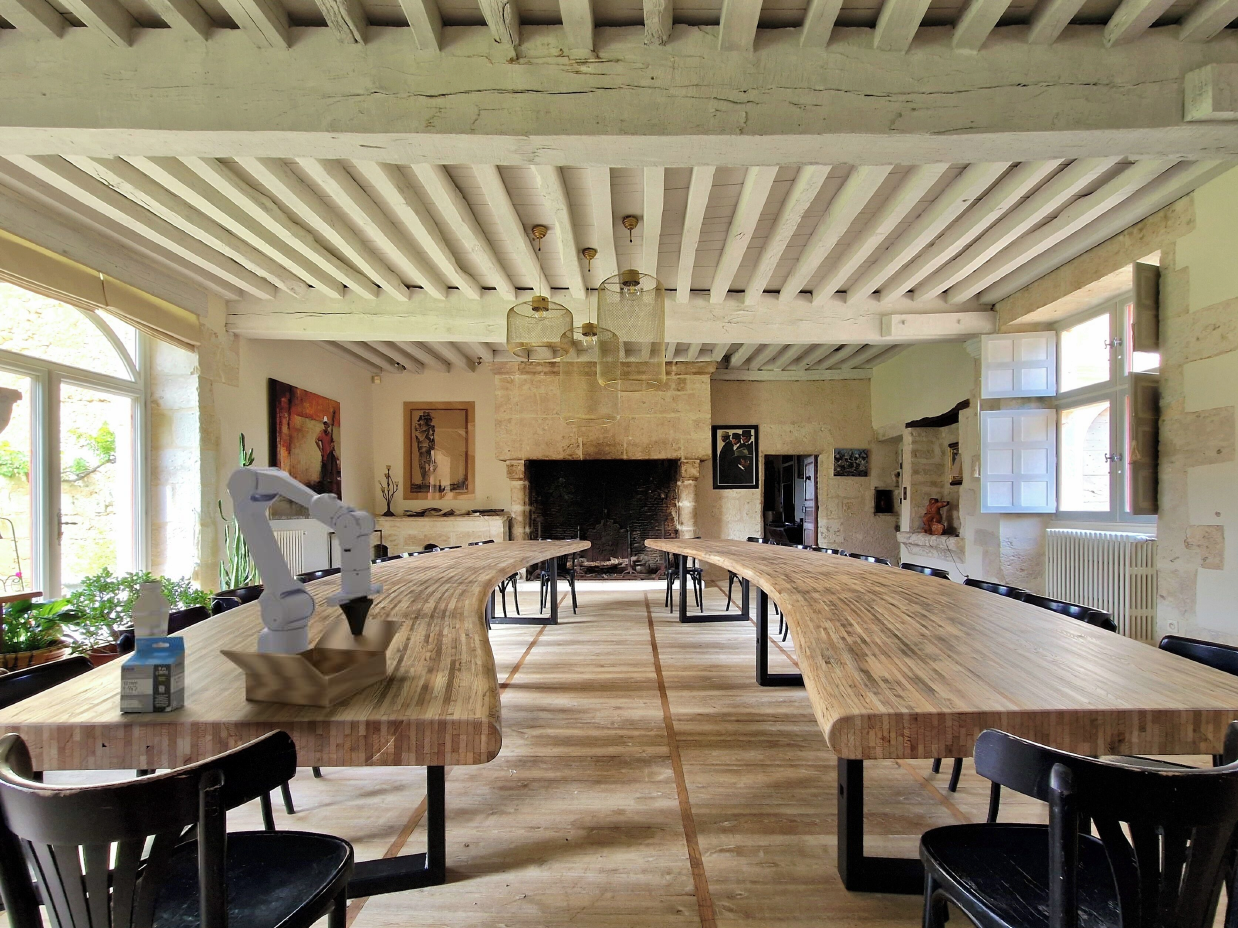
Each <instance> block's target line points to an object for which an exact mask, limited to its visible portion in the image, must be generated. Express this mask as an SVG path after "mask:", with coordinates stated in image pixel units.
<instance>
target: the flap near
mask: <svg viewBox="0 0 1238 928" xmlns="http://www.w3.org/2000/svg"><path fill="white" fill-rule="evenodd" d="M219 653H220V654H222V656H224V657H225V658H226V659H228V661H230V662H231V663H233V664H234V665H236V667H238V668H239V669H241V670H242V671H243V672H246V673H250V674H262V675H274V676H287V677H299V678H312V679H325V676H323V675H322V674H321V673H320V672H319V671H318V670H317V669H316V668H315V667H313V666H312V665H311V664H310V663H309V662H308V661H307V660H306V659H305V658H303V657H302V656H301V655H289V654H275V653H260V652H258V651H243V650H229V649H228V650H227V649H220V651H219Z"/></svg>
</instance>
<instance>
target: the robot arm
mask: <svg viewBox="0 0 1238 928" xmlns="http://www.w3.org/2000/svg"><path fill="white" fill-rule="evenodd" d="M226 487H227V490H228V493H229V495H230V497H231V500H232V509H233V515H234V518H235V520H236V524H237V526H238V528H239V530H240V532H241V535H242V538H243V539H244V540H243V541H244V542H245V544H246V548H247V549H248V551H249V554H250V556H251V559H252V561H253V564H254V566H255V568H256V571H257V573H258V576H259V578H260V580H261V582H262V585H263V588H264V590H263V591H262V592H261V594H260V596H259V597H258V600H257V601H258V605H259V607H260V620H261V622H262V624H263V625H264V626H265V628H264V629H262V631H261V632H260V633H259V635H258V638H257V652H260V653H275V654H289V655H295V654H297V653H300V652H303V651H306V650H308V649H310V647H309V642H310V641H309V640H310V639H309V623H311V617H313V615H314V614H315V611H316V609H317V603H316V602H317V601H316V599H315V597H314V595H313V594H311V593H310V592H309V591H308V589H307V588H306V586H305V584H304V583H303V582H301V581H299V580H297V579H295V578H294V577H293V576H292V575H293V574H292V573H291V570H290V569H289V567H288V564H287V561H286V559H285V556H284V554H283V552H282V550H281V548H280V545H279V543H278V540H277V538H276V536H275V533H274V530H273V528H272V526H271V524H270V521H269V519H268V517H267V515H266V512H267V510H268V508H270V507H271V506H272V505H273V503H274V502H275V501H276V499H277V498H278V497H279V496H280V495H282V496H283V497H285V498H287V499H289V500H291V501H294V502H296V503H298V504H299V505H300V506H301V505H302V506H303V507H305V508H306V509H308V514H309V516H310V517H311V518H312V519H314V520H315V521H318V522H320V523H322V524H323V525H325V526H326V527H328V528H329V529H332V530H333V532H334V535H335V537H336V538H337V539H338V547H340V587H341V589H340V591H338V592H336V593H334V594H332V595H329V596H326V607H328V608H336V607H338V606H339V608H340V610H341V611H342V612H343V614H344V617H345V618H347V621H348V624H349V627H350V630H351V634H352V635H362V633H363V629H364V624H365V621H366V619H367V617H368V615H369V612H370V609H372V606H373V604H374V598H372V597H371V596H374V595H381V594H383V593H384V585H383V584H382V583H381V584H379V583H373V584H372V577H371V575H372V573H371V572H372V569H371V568H372V566H371V562H372V561H371V559H372V557H371V536H372V535H373V533H374V532H375V530H376V524H377V523H376V520H375V517H374V516H373V514H371V513H370V512H369V511H368V510H366V509H364V510H363V509H361V510H357V509H355V508H356V507H355V505H353V504H346V503H345V502H343V501H342V500H340V499H338V495H336V494H334V493H322V494H318V493H316V491H315V492H314V490H312V489H311V488H309V487H307V486H306V485H304V484H303V483H301V482H300V481H298V480H297V479H295V478H294V477H292V476H291V475H290V474H289V472H287V471H284V470H282V469H281V468H279V467H276V466H269V467H251V466H250V467H248V466H238V467H236V468H235V469H234V470H233V471H232V472H231V474H230V476H229V478H228V481H227V483H226ZM370 597H371V598H370Z"/></svg>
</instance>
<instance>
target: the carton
mask: <svg viewBox="0 0 1238 928" xmlns="http://www.w3.org/2000/svg"><path fill="white" fill-rule="evenodd" d="M295 655H301V656H302V657H303V658H305V659H306V660H307V661H308V662H309V663H310V664H311V665H312V666H313V667H315V668H316V669H317V670H318V671H319V672H320V673H321V674H322V675H323V676H325V679H312V678H299V677H287V676H274V675H262V674H250V673H246V672H245V678H244V679H245V680H244V682H245V701H250V702H251V701H253V702H260V703H261V702H263V703H270V704H271V703H274V704H282V705H292V706H305V707H313V708H315V707H316V708H323V709H324V708H326V709H328V708H330V707H333V705H336V704H337V703H340V702H342V701H343V700H346V699H348V698H350V697H352V696H353V695H355V694H358V693H359V692H361V691H364V690H365V689H367V688H369V687H372V686H373V685H375V684H377V683H379V682H381V681H384V680H385V679H387V678H388V676H387V675H388V674H387V673H388V672H387V670H388V669H387V665H388V664H387V652H369V651H353V650H337V649H322V648H314V647H312V648H309V649H308V650H306V651H303V652H300V653H297V654H295Z"/></svg>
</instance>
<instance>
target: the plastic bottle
mask: <svg viewBox="0 0 1238 928" xmlns="http://www.w3.org/2000/svg"><path fill="white" fill-rule="evenodd" d="M162 591H163V581H162V580H159V579H158V580H148V581H147V580H146V581H141V582H139V590H138V592H139V593H140V595H139V596H138V598H137V599H136V600H135V602H134V603H133V605H132V607H131V616H132V617H131V618H132V623H133V629H134V636H135V637H134V652H133V654H134V653H135V652H136V651H137V649H136V638H152V637H168V629H169V628H168V627H169V618H170V613H171V611H170V610H171V603H170V601H169V600H168V599H167V597H166V596H165V595H164V594H163V593H162ZM167 646H169V644H167V643H164V644H163V643H162V642H159V643H158V644H153V647H167Z"/></svg>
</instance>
